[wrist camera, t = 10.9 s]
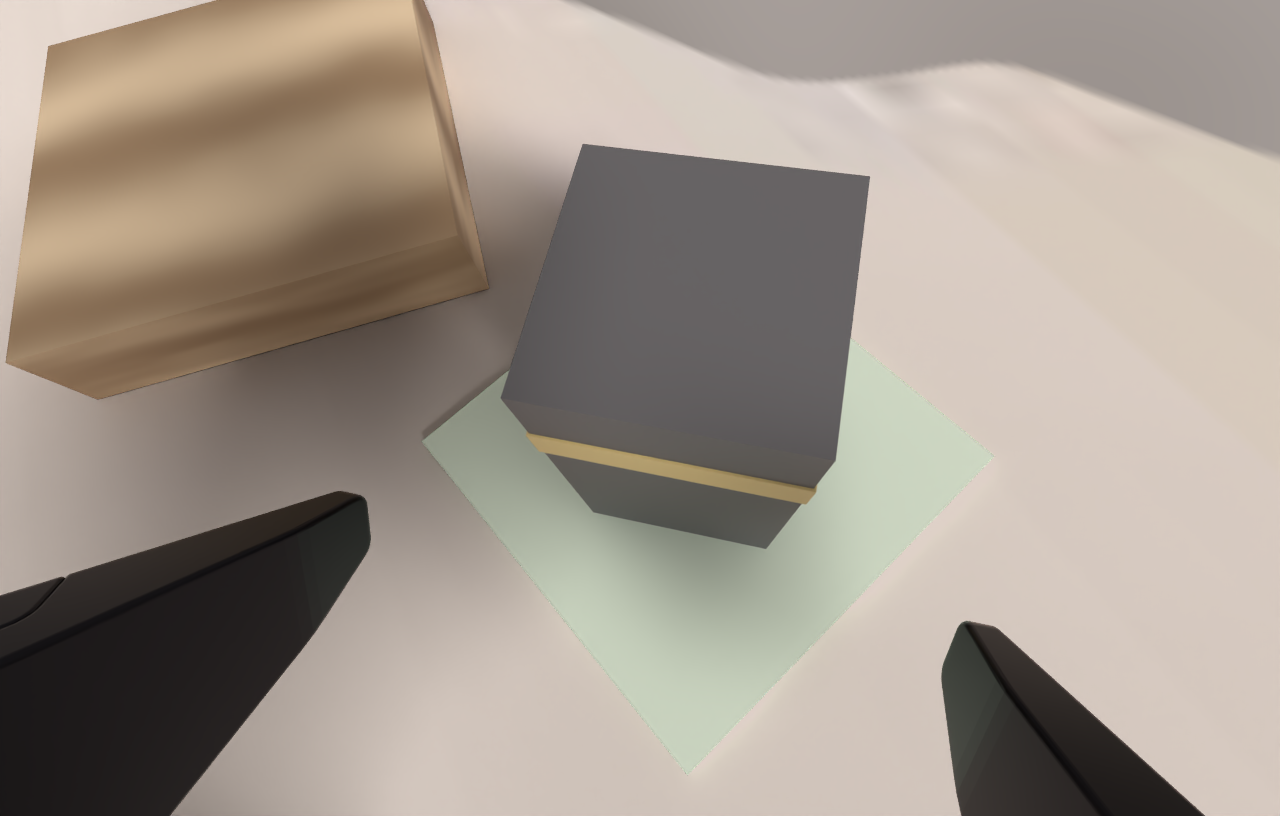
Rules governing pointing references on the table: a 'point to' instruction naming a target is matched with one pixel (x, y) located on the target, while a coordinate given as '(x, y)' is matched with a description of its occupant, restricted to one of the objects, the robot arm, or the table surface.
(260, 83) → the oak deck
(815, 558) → the felt mat
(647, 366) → the black box
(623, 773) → the table surface
